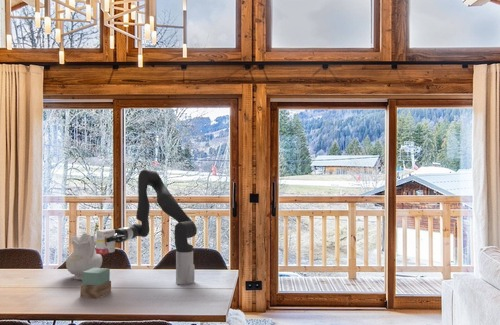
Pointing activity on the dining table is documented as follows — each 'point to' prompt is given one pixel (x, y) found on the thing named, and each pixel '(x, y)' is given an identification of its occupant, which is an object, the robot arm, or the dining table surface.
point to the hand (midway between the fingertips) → (102, 240)
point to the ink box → (101, 243)
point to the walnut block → (95, 290)
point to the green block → (96, 276)
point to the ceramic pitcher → (83, 256)
